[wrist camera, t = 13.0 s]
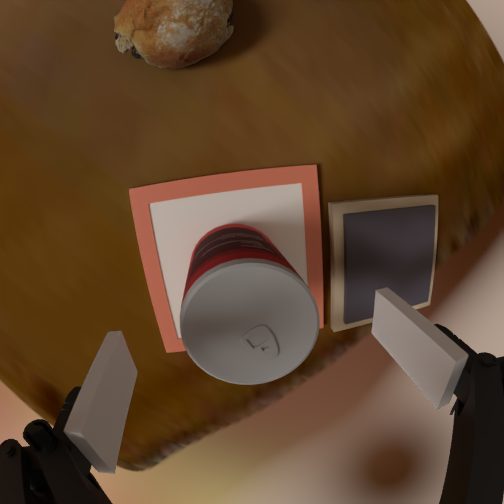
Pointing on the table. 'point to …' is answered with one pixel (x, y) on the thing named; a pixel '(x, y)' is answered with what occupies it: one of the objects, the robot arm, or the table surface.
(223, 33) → the bread roll
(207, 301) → the canned food
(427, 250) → the ink pad
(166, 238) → the print sheet
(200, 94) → the table surface
